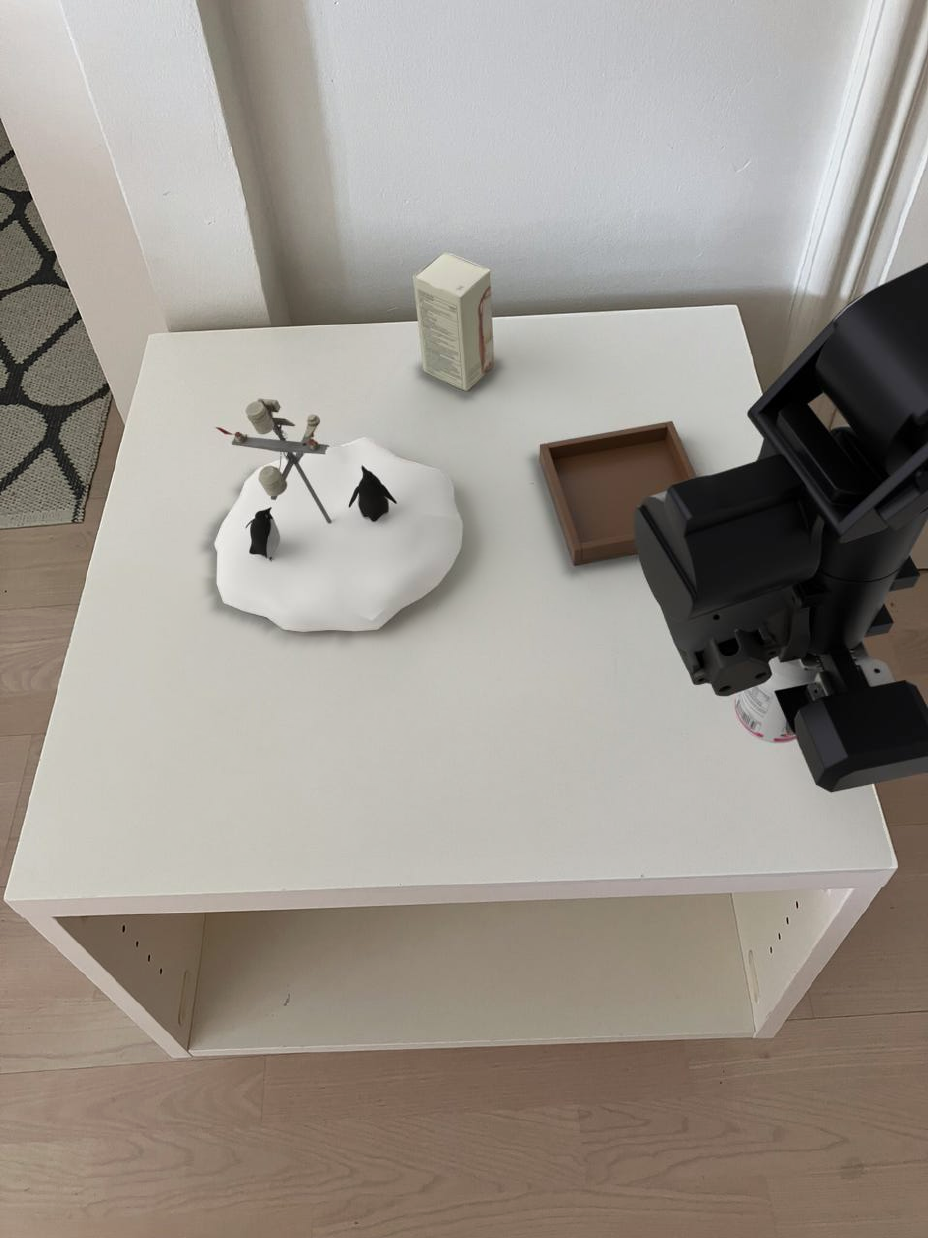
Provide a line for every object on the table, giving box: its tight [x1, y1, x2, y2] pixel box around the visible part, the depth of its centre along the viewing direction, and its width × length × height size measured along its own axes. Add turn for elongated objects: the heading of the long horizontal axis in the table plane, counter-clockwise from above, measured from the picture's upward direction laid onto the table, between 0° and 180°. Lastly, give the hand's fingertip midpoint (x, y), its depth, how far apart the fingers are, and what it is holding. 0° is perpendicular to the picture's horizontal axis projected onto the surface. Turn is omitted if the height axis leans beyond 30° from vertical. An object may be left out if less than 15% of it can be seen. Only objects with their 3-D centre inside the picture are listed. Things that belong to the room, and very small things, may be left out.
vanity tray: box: [538, 420, 698, 566], centre depth 81 cm, size 11×11×2 cm
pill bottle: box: [733, 654, 823, 744], centre depth 60 cm, size 5×5×8 cm
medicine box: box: [412, 250, 495, 392], centre depth 87 cm, size 5×4×10 cm
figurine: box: [213, 398, 464, 633], centre depth 74 cm, size 20×18×16 cm
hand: (778, 694), depth 62 cm, fingers closed on pill bottle, 5 cm apart
